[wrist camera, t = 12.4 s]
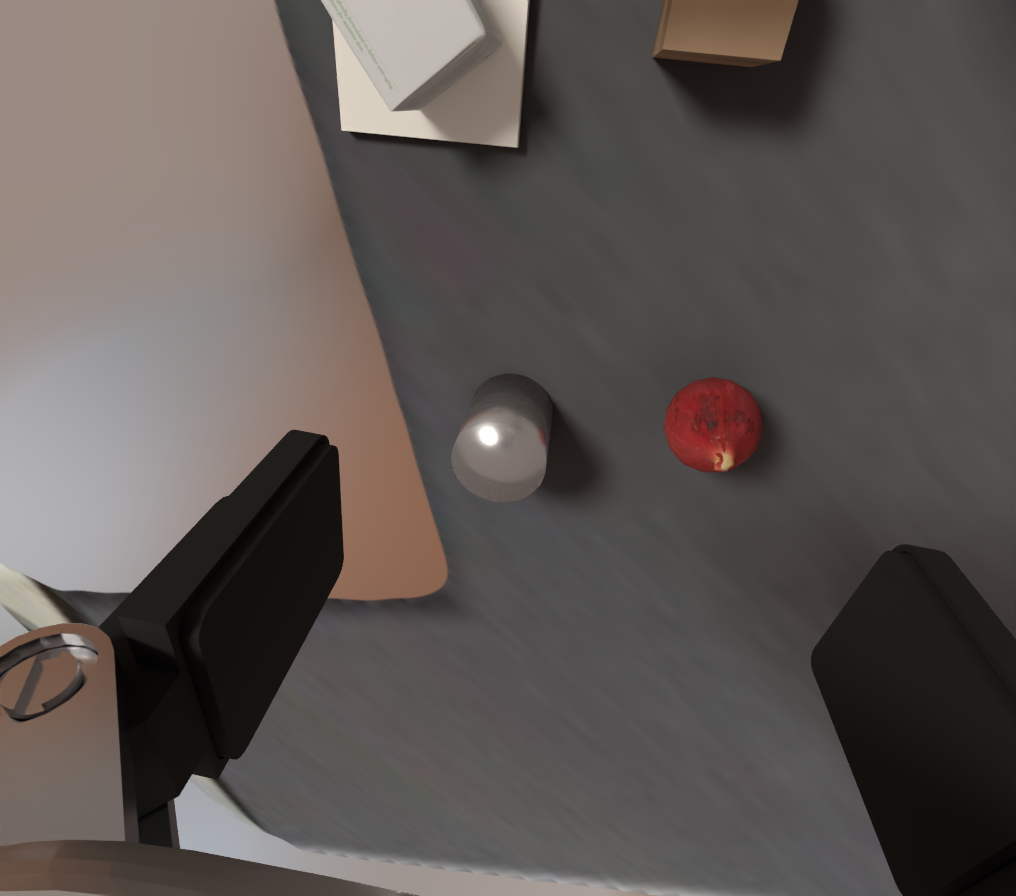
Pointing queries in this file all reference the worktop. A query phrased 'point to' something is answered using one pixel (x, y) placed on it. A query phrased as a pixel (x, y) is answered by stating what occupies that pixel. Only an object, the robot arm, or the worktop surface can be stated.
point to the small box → (415, 44)
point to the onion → (713, 425)
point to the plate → (448, 92)
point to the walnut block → (724, 31)
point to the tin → (504, 439)
